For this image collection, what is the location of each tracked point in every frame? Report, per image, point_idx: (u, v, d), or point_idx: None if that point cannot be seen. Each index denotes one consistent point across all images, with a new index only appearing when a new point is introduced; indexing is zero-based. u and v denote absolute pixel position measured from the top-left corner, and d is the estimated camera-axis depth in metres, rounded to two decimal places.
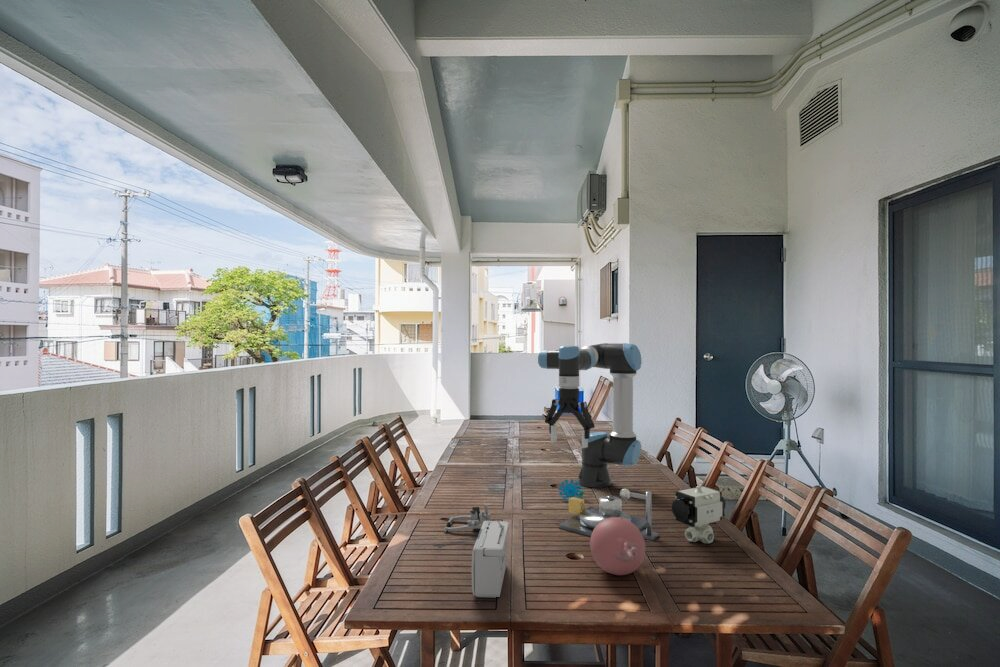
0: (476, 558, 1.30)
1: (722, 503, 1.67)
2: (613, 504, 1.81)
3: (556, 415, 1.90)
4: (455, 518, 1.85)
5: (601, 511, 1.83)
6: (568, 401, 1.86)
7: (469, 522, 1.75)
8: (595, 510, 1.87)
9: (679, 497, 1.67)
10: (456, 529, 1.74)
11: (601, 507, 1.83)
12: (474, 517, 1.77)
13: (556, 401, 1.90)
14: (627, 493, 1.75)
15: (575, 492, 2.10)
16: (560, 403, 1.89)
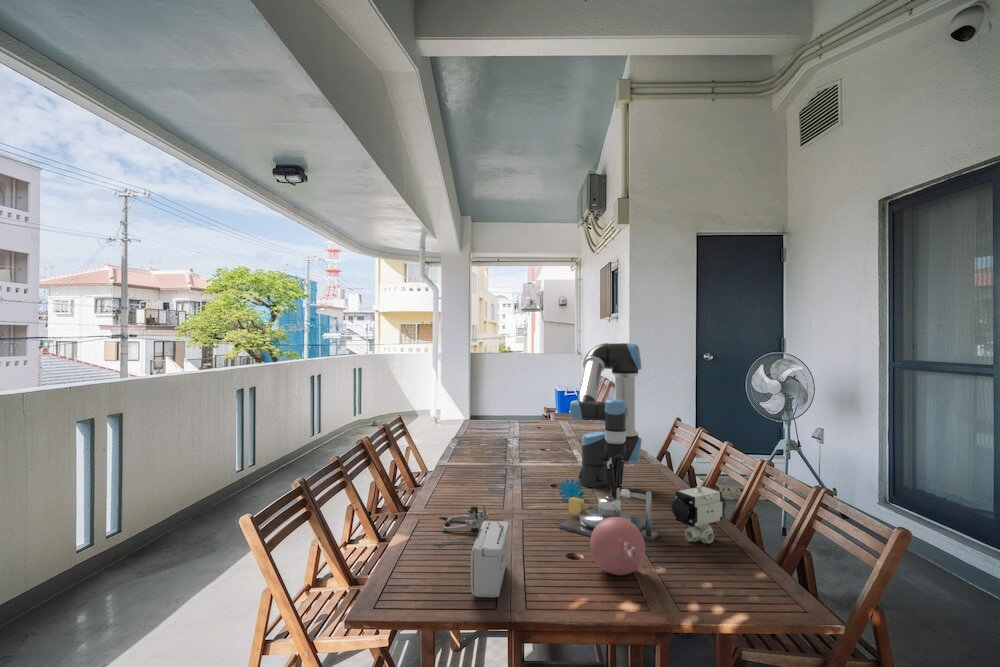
0: (475, 558, 1.30)
1: (722, 503, 1.67)
2: (612, 504, 1.80)
3: None
4: (454, 518, 1.85)
5: (600, 511, 1.83)
6: None
7: (467, 522, 1.75)
8: (595, 510, 1.87)
9: (679, 497, 1.67)
10: (454, 529, 1.74)
11: (600, 507, 1.83)
12: (472, 517, 1.77)
13: None
14: (627, 493, 1.75)
15: (575, 492, 2.10)
16: None
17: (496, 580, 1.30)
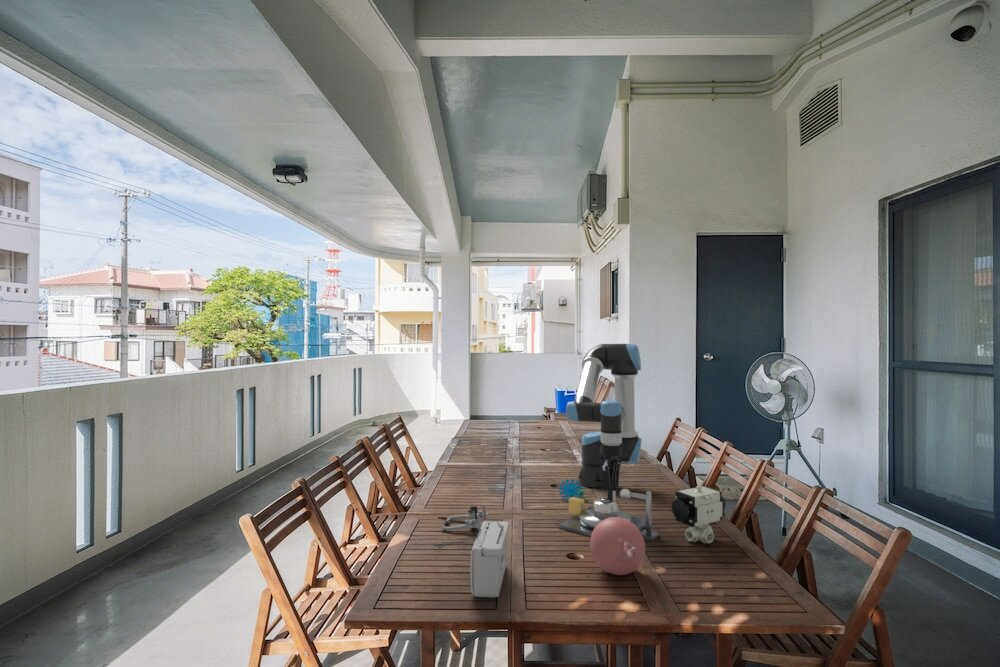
0: (475, 558, 1.30)
1: (722, 503, 1.67)
2: (608, 507, 1.78)
3: None
4: (453, 517, 1.86)
5: (595, 514, 1.80)
6: None
7: (466, 521, 1.75)
8: None
9: (679, 497, 1.67)
10: (453, 528, 1.75)
11: (595, 510, 1.80)
12: (471, 516, 1.77)
13: None
14: (627, 493, 1.75)
15: (575, 492, 2.10)
16: None
17: (496, 580, 1.30)
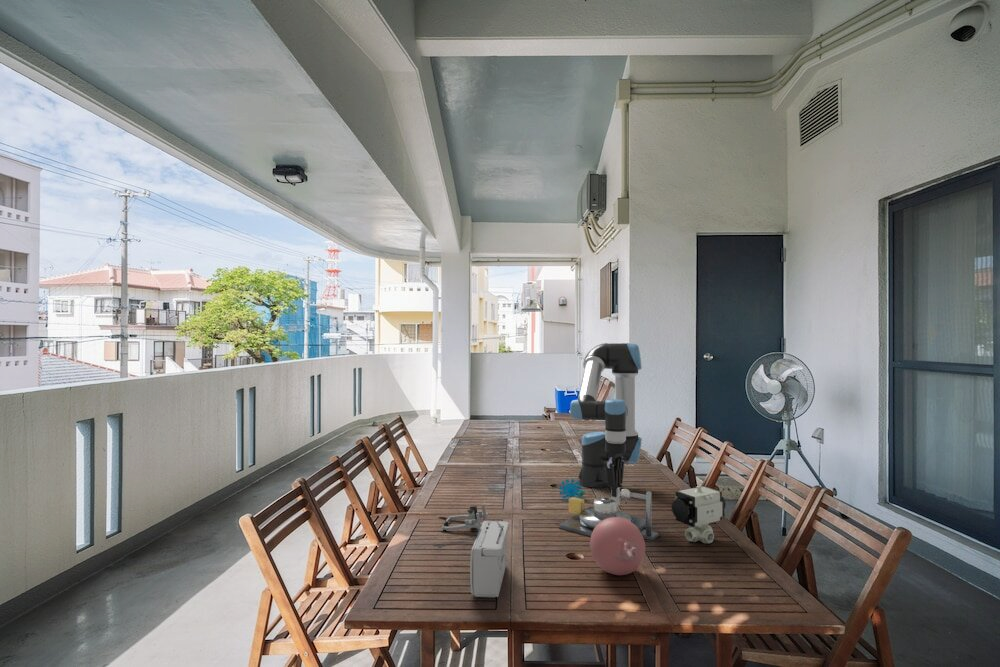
0: (475, 558, 1.30)
1: (722, 503, 1.67)
2: (608, 507, 1.77)
3: None
4: (453, 517, 1.86)
5: (595, 514, 1.80)
6: None
7: (466, 521, 1.76)
8: None
9: (679, 497, 1.67)
10: (453, 528, 1.75)
11: (595, 510, 1.80)
12: (471, 516, 1.77)
13: None
14: (627, 493, 1.75)
15: (575, 492, 2.10)
16: None
17: (496, 580, 1.30)
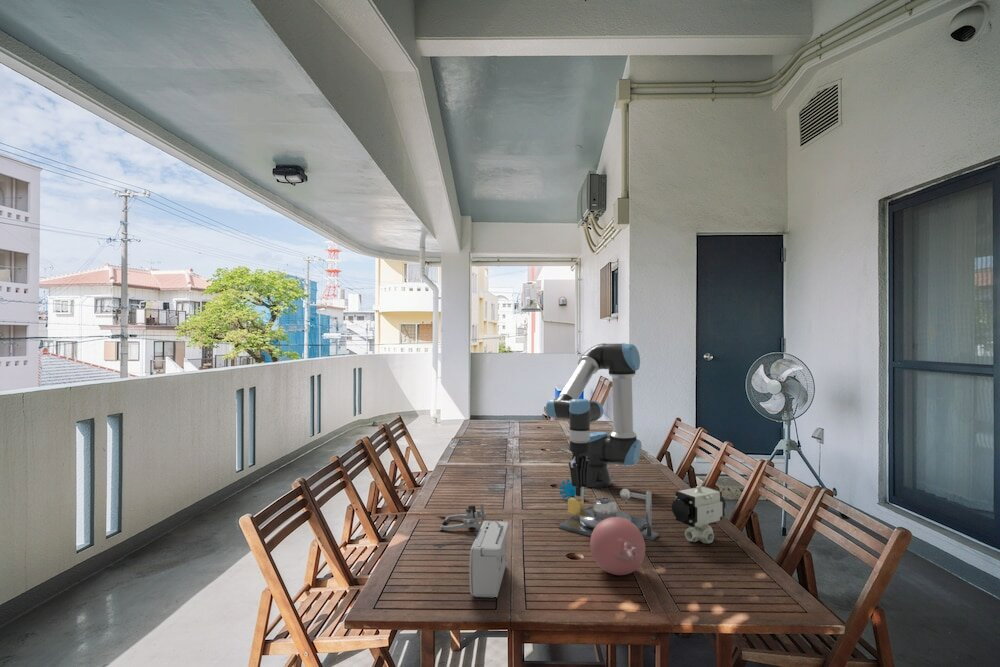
0: (474, 558, 1.30)
1: (722, 503, 1.67)
2: (606, 507, 1.77)
3: None
4: (452, 517, 1.86)
5: (595, 514, 1.80)
6: None
7: (464, 521, 1.76)
8: None
9: (679, 497, 1.67)
10: (451, 527, 1.75)
11: (594, 510, 1.80)
12: (470, 516, 1.78)
13: None
14: (627, 493, 1.75)
15: (575, 491, 2.10)
16: None
17: (495, 580, 1.30)
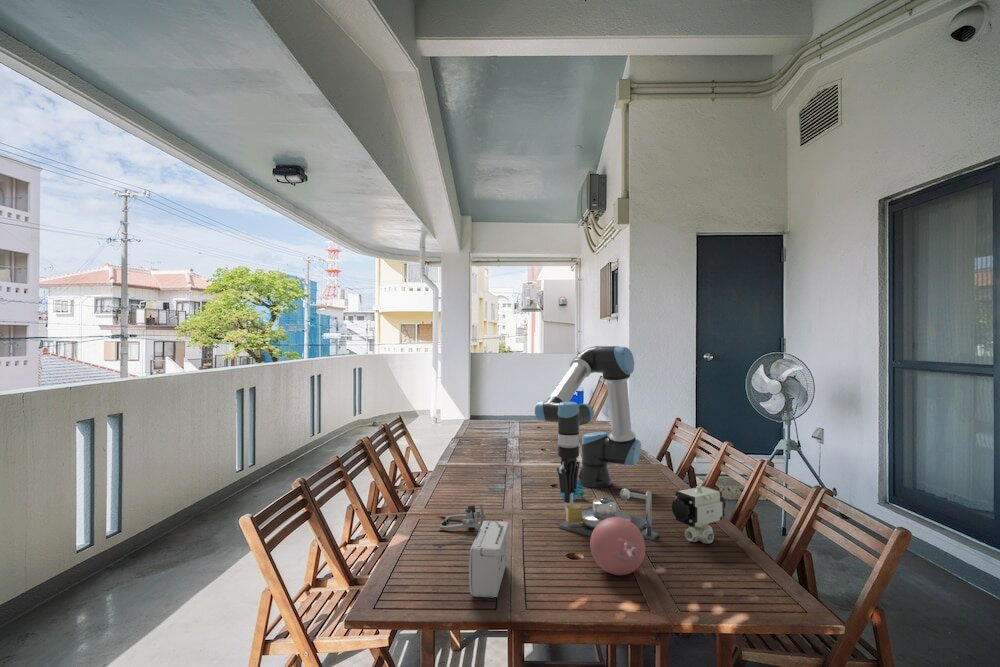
0: (473, 558, 1.30)
1: (722, 503, 1.67)
2: (612, 506, 1.78)
3: None
4: (451, 517, 1.86)
5: (600, 516, 1.78)
6: None
7: (464, 521, 1.76)
8: (586, 513, 1.84)
9: (679, 497, 1.67)
10: (451, 528, 1.75)
11: (600, 512, 1.78)
12: (469, 516, 1.78)
13: None
14: (627, 493, 1.75)
15: None
16: None
17: (494, 580, 1.30)
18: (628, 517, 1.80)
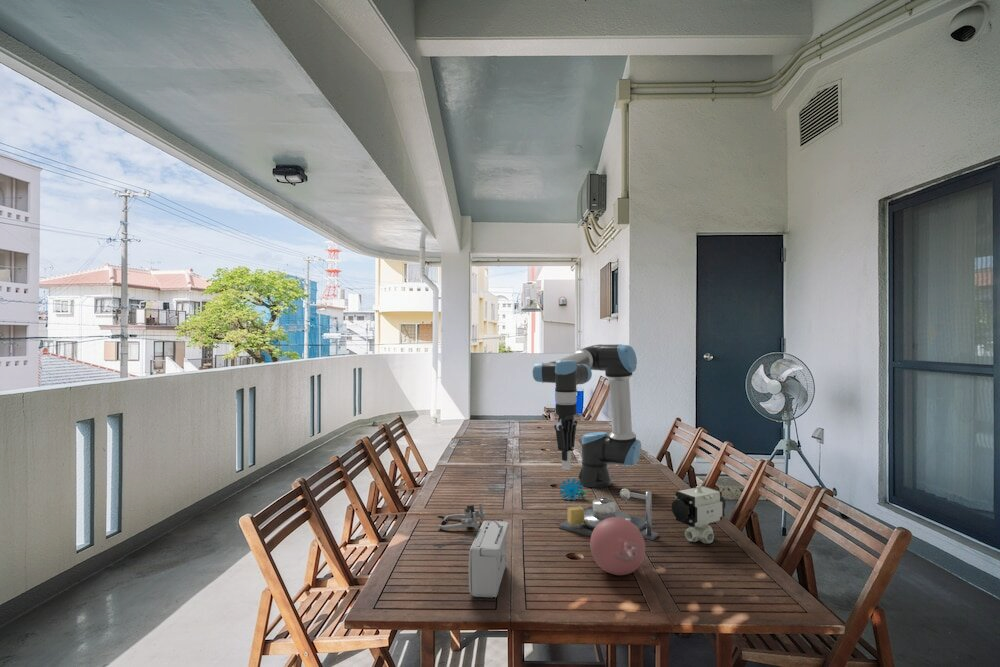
0: (473, 558, 1.30)
1: (722, 503, 1.67)
2: (612, 506, 1.78)
3: None
4: (450, 516, 1.87)
5: (600, 516, 1.78)
6: None
7: (463, 520, 1.77)
8: (586, 514, 1.83)
9: (679, 497, 1.67)
10: (450, 527, 1.76)
11: (600, 512, 1.78)
12: (468, 515, 1.78)
13: None
14: (627, 493, 1.75)
15: (575, 491, 2.11)
16: None
17: (494, 580, 1.30)
18: (627, 516, 1.81)
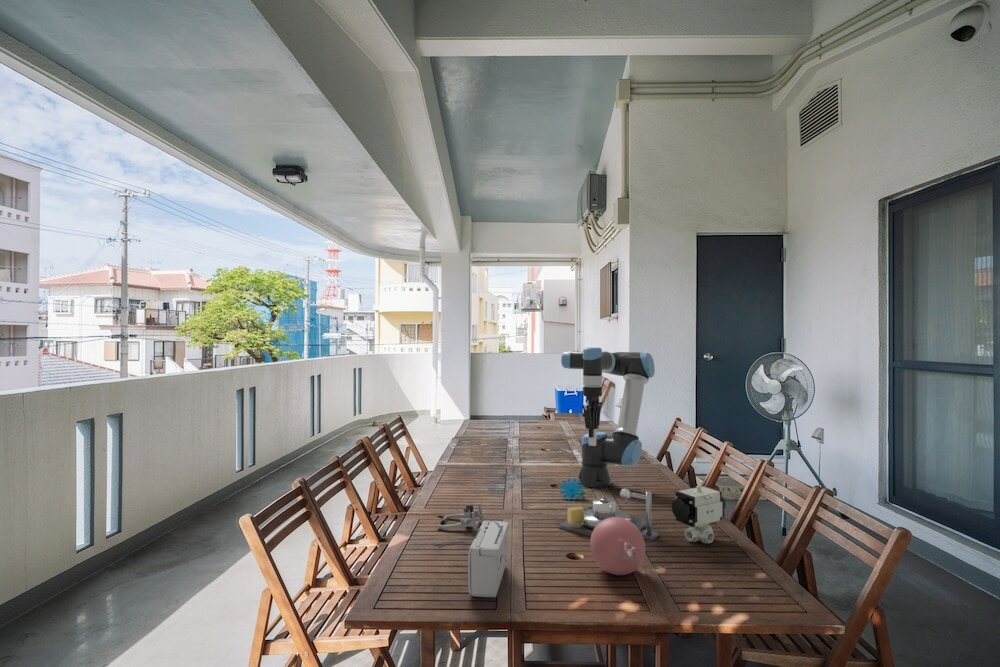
0: (472, 558, 1.30)
1: (722, 503, 1.67)
2: (612, 506, 1.78)
3: None
4: (450, 516, 1.87)
5: (599, 515, 1.78)
6: None
7: (462, 520, 1.77)
8: (586, 514, 1.83)
9: (679, 497, 1.67)
10: (449, 527, 1.76)
11: (599, 511, 1.78)
12: (467, 515, 1.79)
13: None
14: (627, 493, 1.75)
15: (576, 491, 2.11)
16: None
17: (493, 580, 1.30)
18: (627, 516, 1.81)
